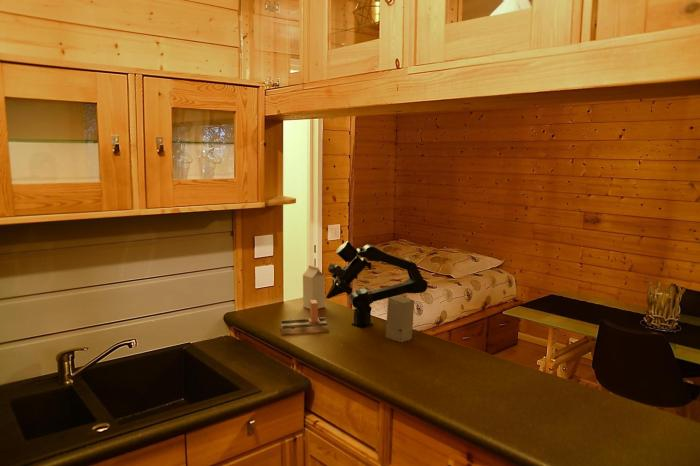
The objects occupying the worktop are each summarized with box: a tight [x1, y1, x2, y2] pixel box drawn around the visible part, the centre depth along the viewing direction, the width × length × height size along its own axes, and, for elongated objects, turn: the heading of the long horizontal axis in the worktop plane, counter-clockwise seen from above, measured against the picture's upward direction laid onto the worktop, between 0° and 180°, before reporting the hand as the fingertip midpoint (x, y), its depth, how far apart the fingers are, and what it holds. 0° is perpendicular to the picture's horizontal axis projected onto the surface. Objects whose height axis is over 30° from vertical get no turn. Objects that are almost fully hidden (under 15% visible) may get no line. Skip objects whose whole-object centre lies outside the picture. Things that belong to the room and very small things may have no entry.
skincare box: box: [385, 295, 415, 343], centre depth 204 cm, size 8×7×16 cm
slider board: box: [280, 317, 329, 335], centre depth 216 cm, size 18×10×3 cm, turn 101°
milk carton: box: [302, 265, 326, 310], centre depth 243 cm, size 7×7×19 cm
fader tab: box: [308, 300, 320, 323], centre depth 216 cm, size 4×5×9 cm
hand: (326, 297), depth 216 cm, fingers closed
